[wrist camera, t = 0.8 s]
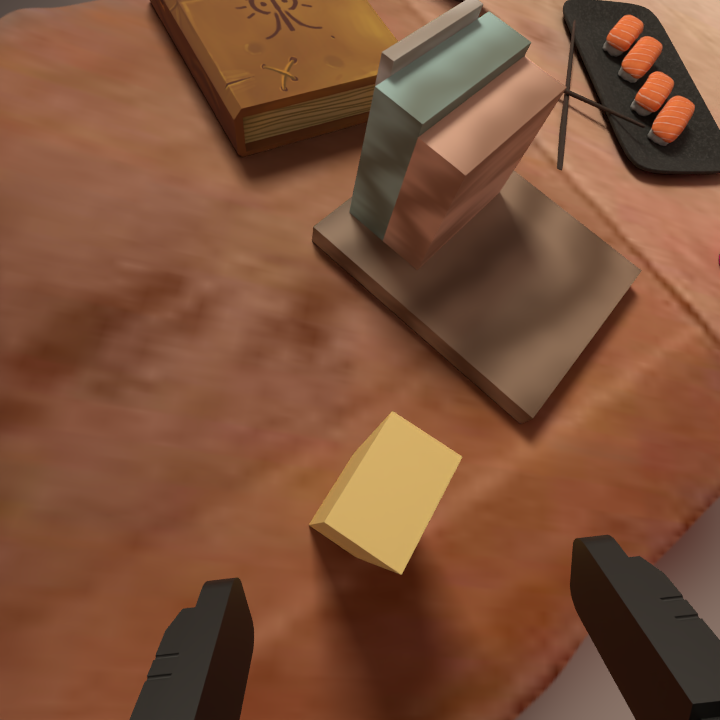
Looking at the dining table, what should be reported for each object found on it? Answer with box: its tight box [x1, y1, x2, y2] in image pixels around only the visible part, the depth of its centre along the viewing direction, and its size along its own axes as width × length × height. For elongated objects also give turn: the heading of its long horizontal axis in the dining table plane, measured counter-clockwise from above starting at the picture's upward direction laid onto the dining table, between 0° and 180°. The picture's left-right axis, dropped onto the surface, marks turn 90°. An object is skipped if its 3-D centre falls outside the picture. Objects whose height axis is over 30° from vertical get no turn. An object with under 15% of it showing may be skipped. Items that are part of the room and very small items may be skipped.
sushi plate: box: [557, 0, 720, 174], centre depth 53 cm, size 29×30×4 cm
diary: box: [150, 0, 398, 157], centre depth 45 cm, size 23×19×6 cm
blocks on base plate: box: [312, 0, 641, 424], centre depth 35 cm, size 24×20×15 cm
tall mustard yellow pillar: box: [309, 411, 462, 575], centre depth 26 cm, size 4×6×13 cm, turn 148°
